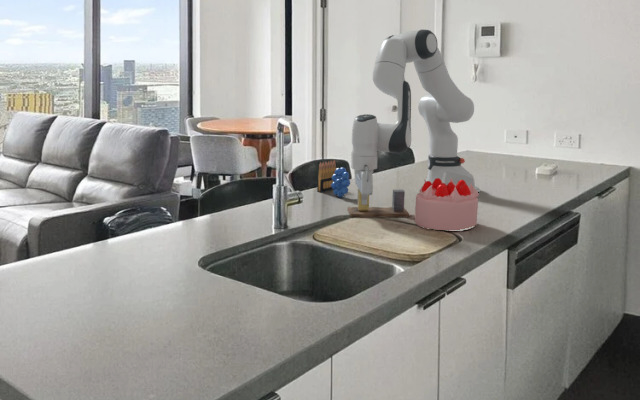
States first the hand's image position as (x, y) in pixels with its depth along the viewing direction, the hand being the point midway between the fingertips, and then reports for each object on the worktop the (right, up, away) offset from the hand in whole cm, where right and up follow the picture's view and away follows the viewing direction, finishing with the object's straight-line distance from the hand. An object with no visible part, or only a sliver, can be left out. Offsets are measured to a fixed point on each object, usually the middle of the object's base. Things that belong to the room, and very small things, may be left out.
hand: (363, 202), depth 224 cm
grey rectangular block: (+12, -4, +1) cm, 13 cm away
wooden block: (0, -2, +1) cm, 2 cm away
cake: (+26, -7, -13) cm, 30 cm away
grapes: (-6, +2, +27) cm, 28 cm away
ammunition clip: (-12, +5, +40) cm, 42 cm away
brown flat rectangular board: (+5, -4, +1) cm, 6 cm away
